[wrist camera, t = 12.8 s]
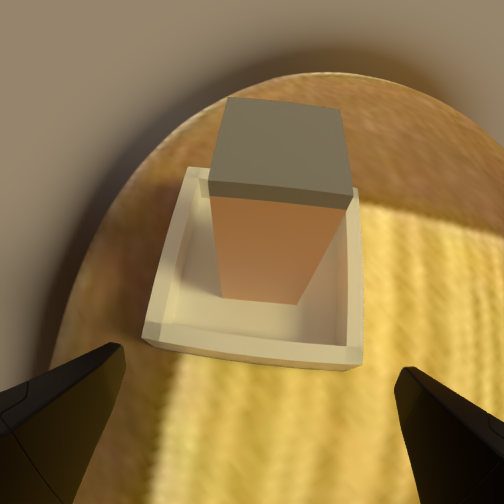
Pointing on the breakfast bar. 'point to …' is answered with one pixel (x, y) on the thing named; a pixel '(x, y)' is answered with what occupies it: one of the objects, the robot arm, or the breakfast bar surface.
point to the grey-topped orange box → (276, 196)
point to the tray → (251, 312)
